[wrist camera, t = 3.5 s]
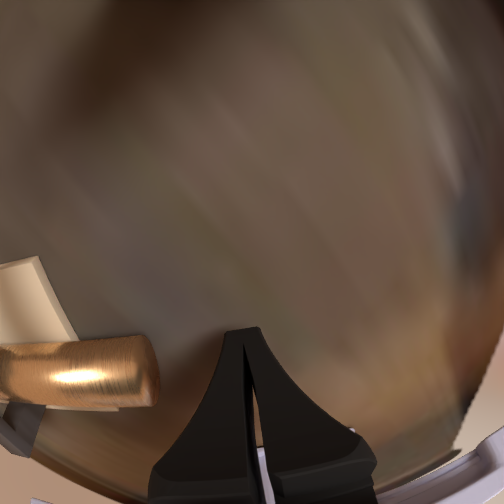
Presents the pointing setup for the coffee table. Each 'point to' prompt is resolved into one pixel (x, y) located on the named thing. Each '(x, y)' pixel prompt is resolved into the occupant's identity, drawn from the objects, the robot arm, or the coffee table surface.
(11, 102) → the coffee table surface
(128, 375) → the tube
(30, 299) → the board
